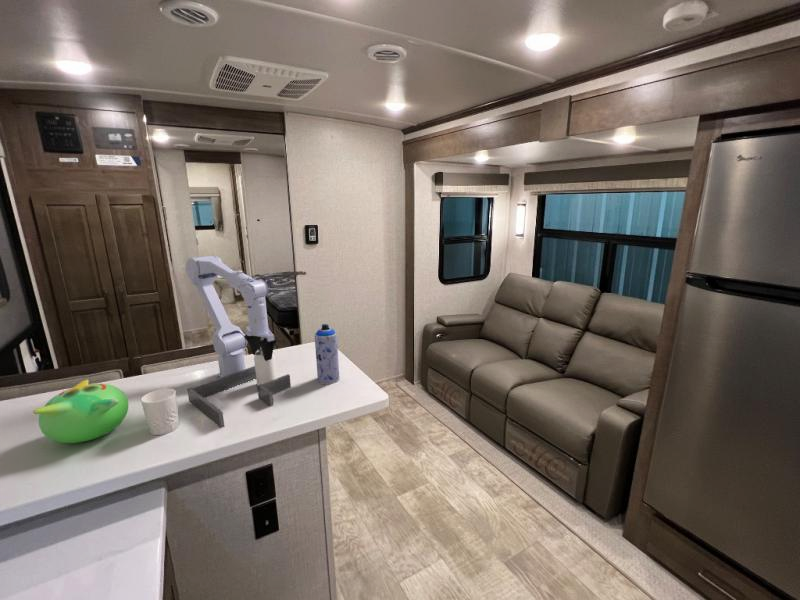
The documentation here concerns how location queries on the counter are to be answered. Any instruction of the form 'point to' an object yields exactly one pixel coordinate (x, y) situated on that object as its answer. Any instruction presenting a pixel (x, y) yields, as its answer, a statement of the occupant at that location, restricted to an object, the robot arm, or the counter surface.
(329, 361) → the aerosol can
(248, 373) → the rail channel
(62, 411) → the toy bird
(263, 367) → the can
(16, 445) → the counter surface
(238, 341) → the robot arm
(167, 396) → the white cup
